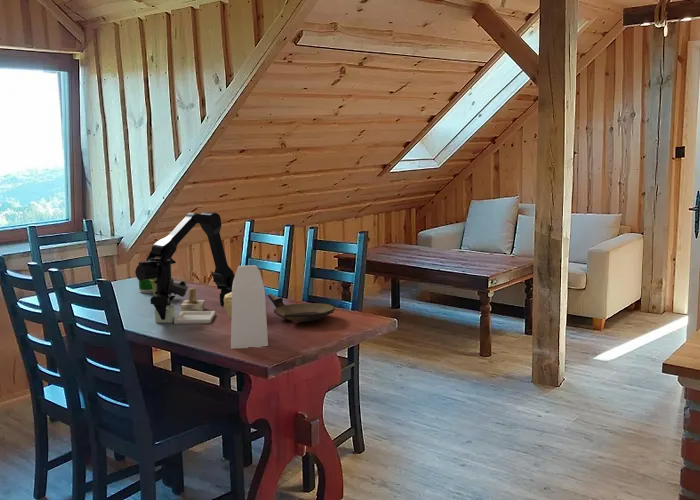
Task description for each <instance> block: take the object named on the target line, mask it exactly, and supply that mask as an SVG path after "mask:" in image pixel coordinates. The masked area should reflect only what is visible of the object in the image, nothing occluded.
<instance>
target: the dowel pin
mask: <svg viewBox="0 0 700 500" xmlns="http://www.w3.org/2000/svg"><path fill="white" fill-rule="evenodd" d="M188 300H189V304H196V300H197V287H195V288H194V287H190V288H188Z"/></svg>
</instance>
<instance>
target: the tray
mask: <svg viewBox="0 0 700 500" xmlns="http://www.w3.org/2000/svg"><path fill="white" fill-rule="evenodd" d="M215 316H216V311H215V310H204V311H181V310H180V312H179V313H178V314H177V316H175V319H174V320H173V321H174V325H182V324H183V325H187V324H188V325H191V324H192V325H194V324H196V325H199V324H202V325H203V324H205V325H206V324H212V321H213V320H214V318H215Z"/></svg>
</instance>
